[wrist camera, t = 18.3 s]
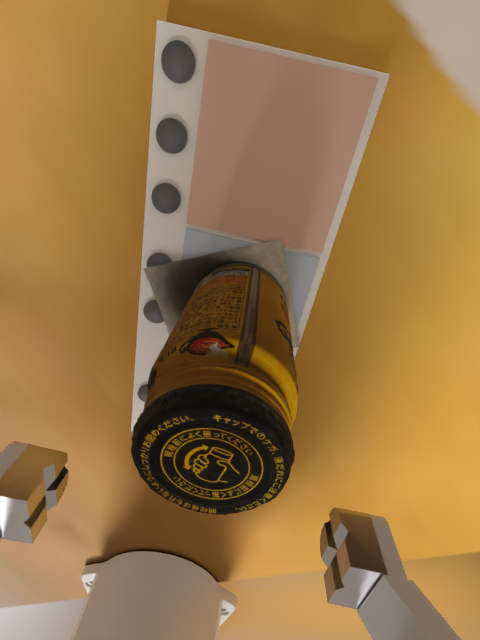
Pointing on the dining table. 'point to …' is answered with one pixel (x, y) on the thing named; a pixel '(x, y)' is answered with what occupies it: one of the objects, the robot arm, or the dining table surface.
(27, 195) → the dining table surface
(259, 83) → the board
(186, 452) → the condiment
